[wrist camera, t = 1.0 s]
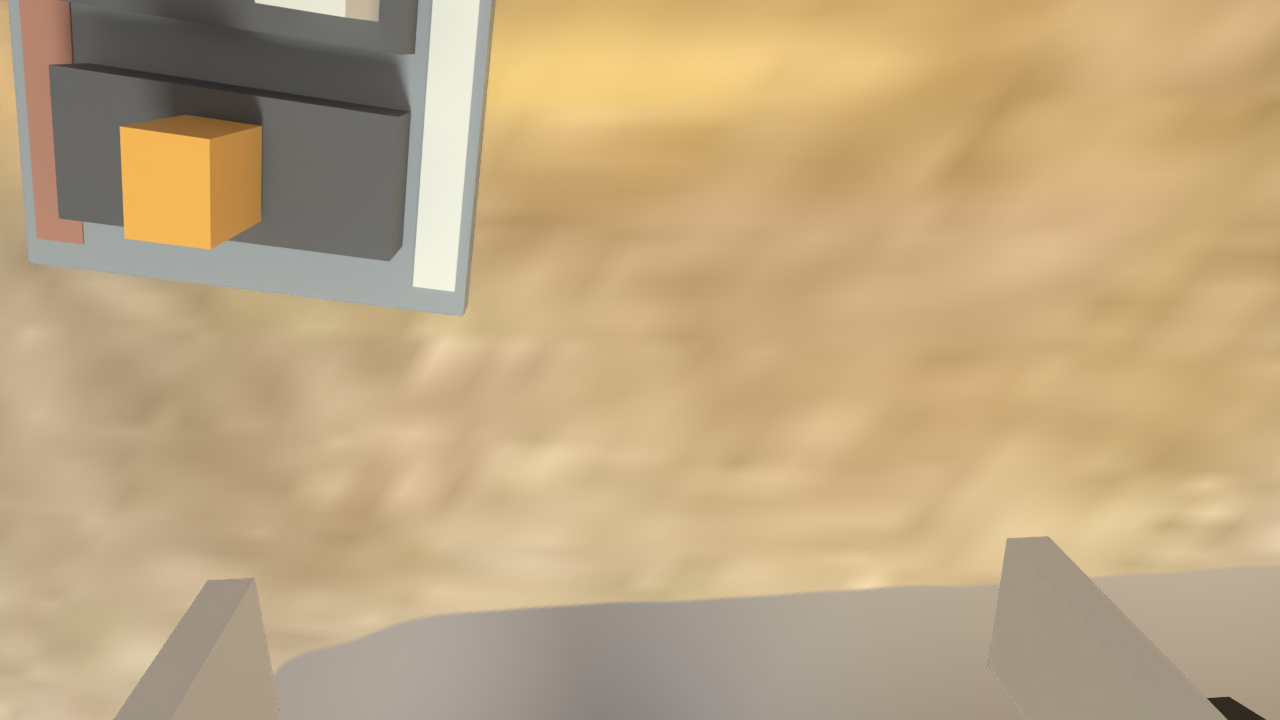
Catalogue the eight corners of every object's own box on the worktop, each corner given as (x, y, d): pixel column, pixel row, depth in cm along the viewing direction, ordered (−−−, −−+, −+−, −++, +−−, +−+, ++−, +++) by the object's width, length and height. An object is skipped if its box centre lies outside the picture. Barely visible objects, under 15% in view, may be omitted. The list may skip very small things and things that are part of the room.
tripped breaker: (187, 211, 29) (124, 238, 25) (185, 114, 28) (119, 126, 24) (260, 221, 30) (210, 249, 25) (262, 126, 29) (209, 139, 24)
